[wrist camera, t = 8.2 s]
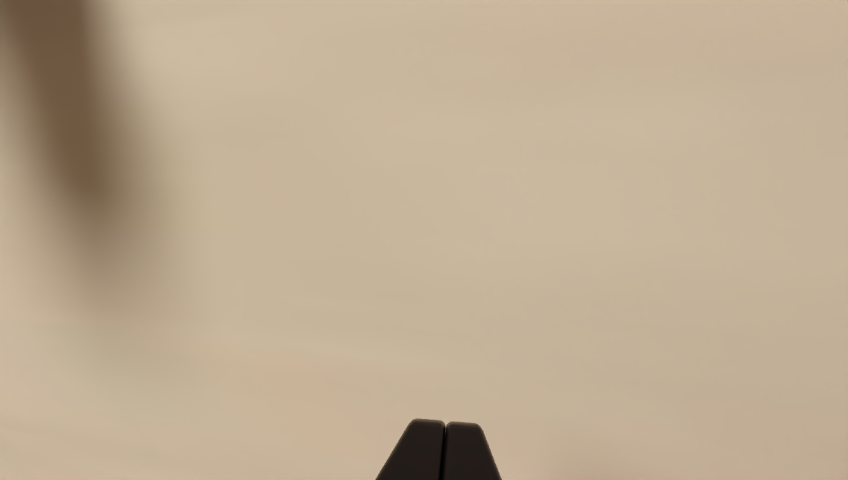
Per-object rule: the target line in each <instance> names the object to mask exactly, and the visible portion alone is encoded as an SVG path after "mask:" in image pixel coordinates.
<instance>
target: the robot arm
mask: <svg viewBox="0 0 848 480" xmlns="http://www.w3.org/2000/svg"><path fill="white" fill-rule="evenodd" d="M445 430H446V433H445ZM375 480H502V479H501V477H500V474H499V471H498V469H497V466H496V464H495V461H494V458H493V456H492V453H491V451H490V448H489V445H488V443H487V440H486V437H485V435H484V432H483V430H482V428H481V427H480V426H479V425H478V424H476V423H465V422H450V423H448V424H447V426H446V427H445V424H444V422H442V421H440V420H429V419H414V420H412V421H411V422H410V423H409V425H408V426H407V428H406V430H405V431H404V433H403V435H402V436H401V438H400V440H399V441H398V443H397V445H396V446H395V448H394V450H393V451H392V453H391V455H390V456H389V458H388V460H387V461H386V463H385V465H384V466H383V468H382V470H381V471H380V473H379V474H378V476H377V478H376V479H375Z"/></svg>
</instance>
